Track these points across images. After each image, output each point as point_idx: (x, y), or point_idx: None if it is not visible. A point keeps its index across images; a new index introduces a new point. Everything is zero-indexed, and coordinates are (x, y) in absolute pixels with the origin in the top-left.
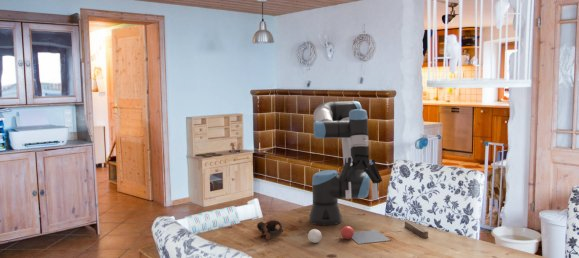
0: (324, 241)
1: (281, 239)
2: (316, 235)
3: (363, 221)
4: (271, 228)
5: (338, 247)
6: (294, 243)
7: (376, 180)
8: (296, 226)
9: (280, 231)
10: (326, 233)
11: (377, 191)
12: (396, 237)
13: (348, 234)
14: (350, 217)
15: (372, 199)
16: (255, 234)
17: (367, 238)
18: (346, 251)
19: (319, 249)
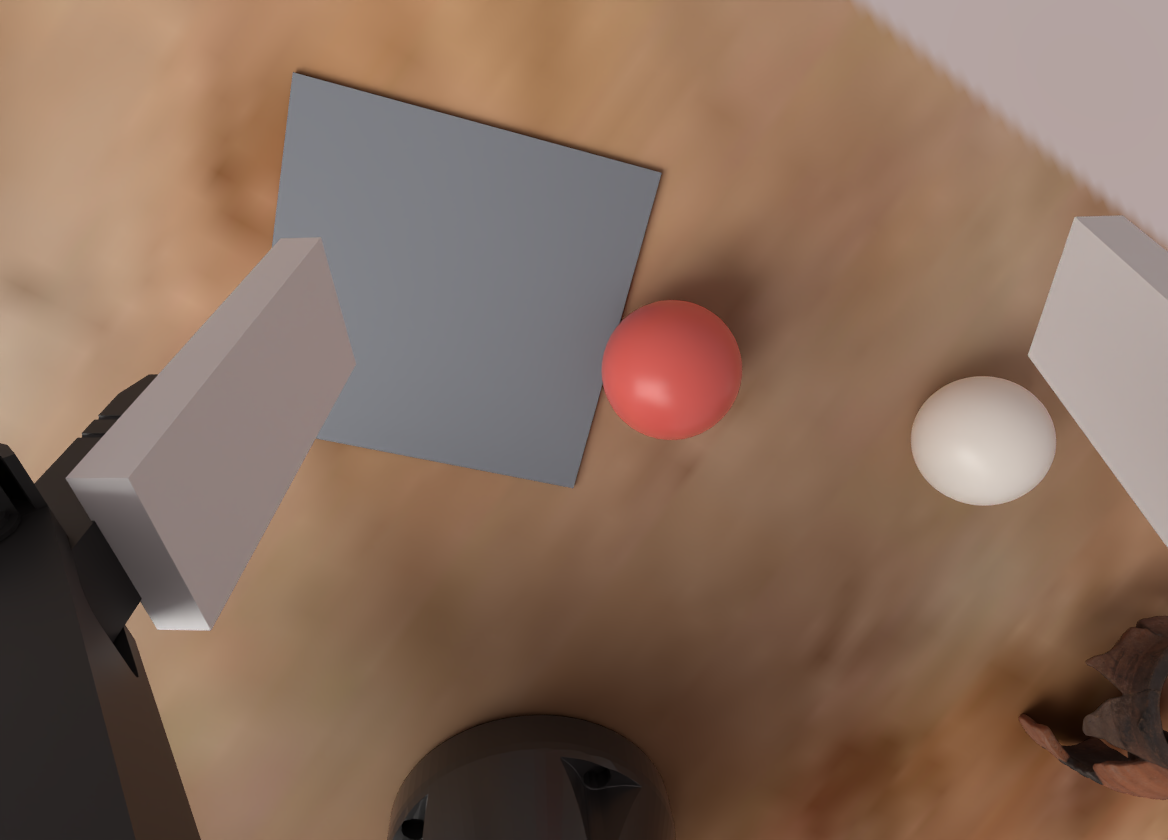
0: (863, 402)
1: (1091, 601)
2: (1021, 393)
3: (231, 685)
4: (1095, 762)
5: (868, 201)
6: (1081, 479)
7: (21, 562)
8: (810, 795)
9: (1139, 649)
10: (719, 564)
11: (205, 328)
12: (170, 129)
13: (703, 308)
14: (284, 814)
15: (351, 362)
16: None
17: (486, 255)
18: (882, 60)
19: (1031, 248)
